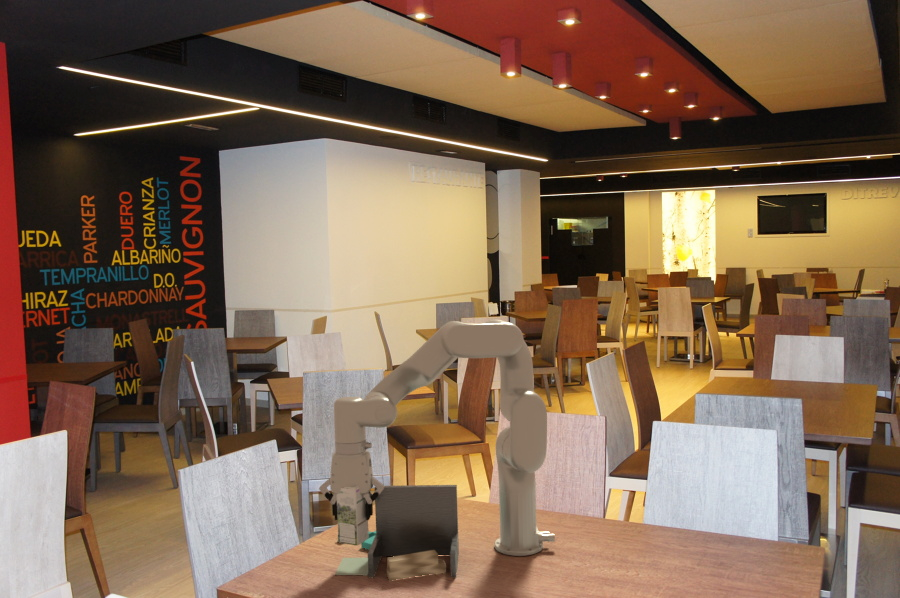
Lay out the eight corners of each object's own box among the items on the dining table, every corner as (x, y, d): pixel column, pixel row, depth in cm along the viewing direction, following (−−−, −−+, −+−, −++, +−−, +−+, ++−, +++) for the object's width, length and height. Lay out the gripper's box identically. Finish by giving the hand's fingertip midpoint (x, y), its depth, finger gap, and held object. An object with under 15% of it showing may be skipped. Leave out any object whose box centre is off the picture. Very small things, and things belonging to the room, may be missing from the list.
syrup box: (369, 538, 187) (367, 481, 187) (357, 546, 182) (355, 487, 181) (350, 535, 190) (348, 478, 189) (337, 543, 184) (335, 485, 184)
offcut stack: (442, 568, 184) (441, 548, 184) (446, 574, 181) (445, 553, 181) (386, 577, 180) (385, 556, 180) (389, 582, 177) (388, 562, 177)
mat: (374, 558, 191) (374, 557, 191) (367, 575, 181) (367, 573, 181) (343, 559, 192) (343, 557, 192) (334, 575, 182) (334, 574, 182)
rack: (458, 553, 193) (456, 484, 192) (456, 577, 178) (453, 503, 177) (378, 554, 194) (375, 485, 193) (368, 578, 180) (365, 504, 179)
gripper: (387, 443, 188) (389, 513, 189) (319, 444, 189) (321, 513, 190) (383, 451, 181) (385, 523, 181) (312, 451, 182) (314, 523, 182)
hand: (352, 517), depth 186 cm, fingers closed on syrup box, 7 cm apart
